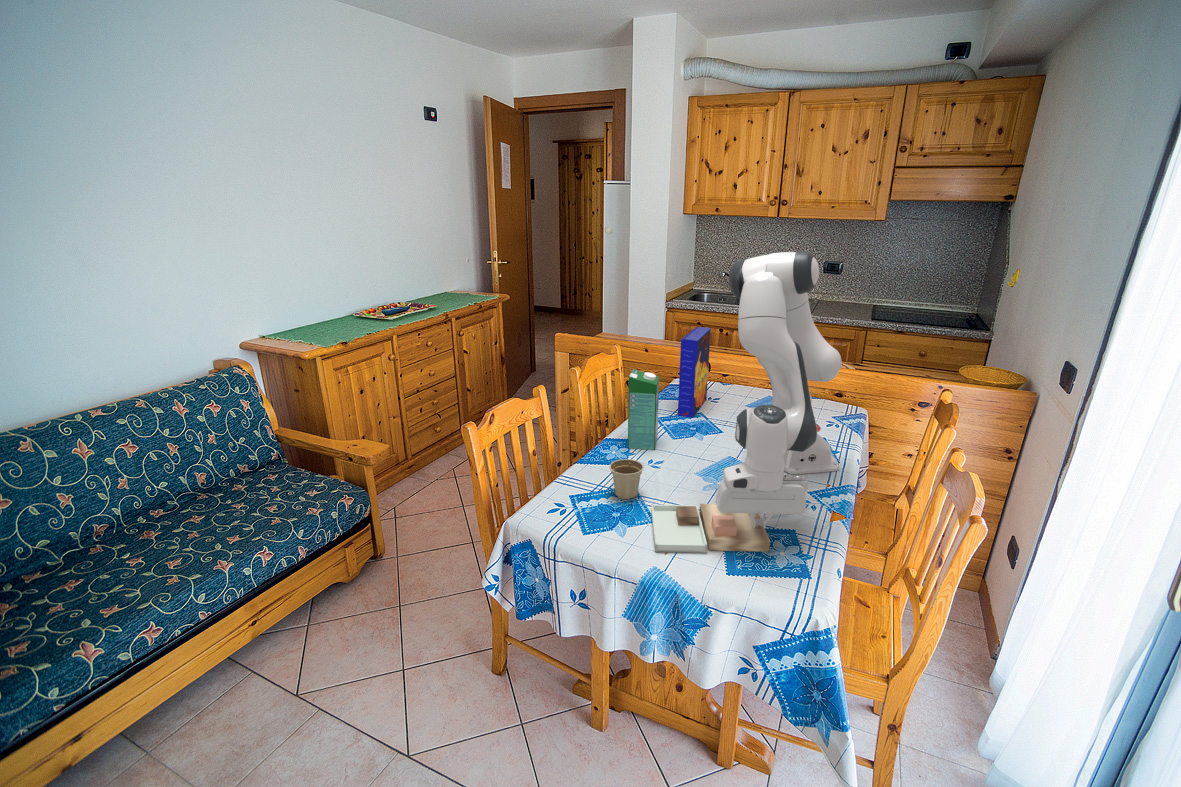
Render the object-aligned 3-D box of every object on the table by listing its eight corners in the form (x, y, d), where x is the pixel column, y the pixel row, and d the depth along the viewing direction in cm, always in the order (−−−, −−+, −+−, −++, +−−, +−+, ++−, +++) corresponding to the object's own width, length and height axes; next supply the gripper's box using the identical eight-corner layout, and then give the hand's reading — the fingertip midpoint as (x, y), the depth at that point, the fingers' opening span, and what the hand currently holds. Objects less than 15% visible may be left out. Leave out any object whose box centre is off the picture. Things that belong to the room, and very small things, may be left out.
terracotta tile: (732, 524, 135) (732, 515, 135) (736, 536, 131) (736, 527, 130) (711, 524, 136) (712, 515, 135) (714, 535, 131) (715, 526, 130)
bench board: (753, 514, 145) (754, 504, 144) (768, 551, 130) (770, 540, 129) (699, 513, 146) (699, 503, 145) (708, 550, 131) (709, 539, 130)
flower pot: (607, 486, 160) (607, 459, 157) (640, 485, 161) (640, 457, 158) (611, 503, 151) (611, 475, 148) (645, 501, 152) (646, 473, 149)
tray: (696, 511, 147) (697, 505, 146) (707, 552, 130) (707, 545, 129) (651, 511, 147) (651, 504, 147) (655, 551, 130) (655, 544, 130)
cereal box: (693, 417, 209) (697, 340, 199) (677, 415, 212) (681, 338, 202) (706, 399, 228) (710, 327, 218) (692, 397, 230) (695, 326, 220)
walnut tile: (695, 514, 144) (695, 506, 143) (698, 525, 140) (698, 516, 139) (676, 514, 144) (676, 506, 144) (678, 525, 140) (678, 516, 139)
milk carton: (655, 450, 183) (657, 377, 174) (627, 448, 185) (628, 376, 176) (657, 439, 191) (659, 369, 183) (631, 437, 193) (632, 368, 185)
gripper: (804, 469, 130) (798, 520, 135) (716, 468, 131) (713, 519, 136) (813, 482, 124) (806, 535, 129) (721, 481, 125) (717, 534, 130)
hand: (758, 527), depth 132 cm, fingers closed
